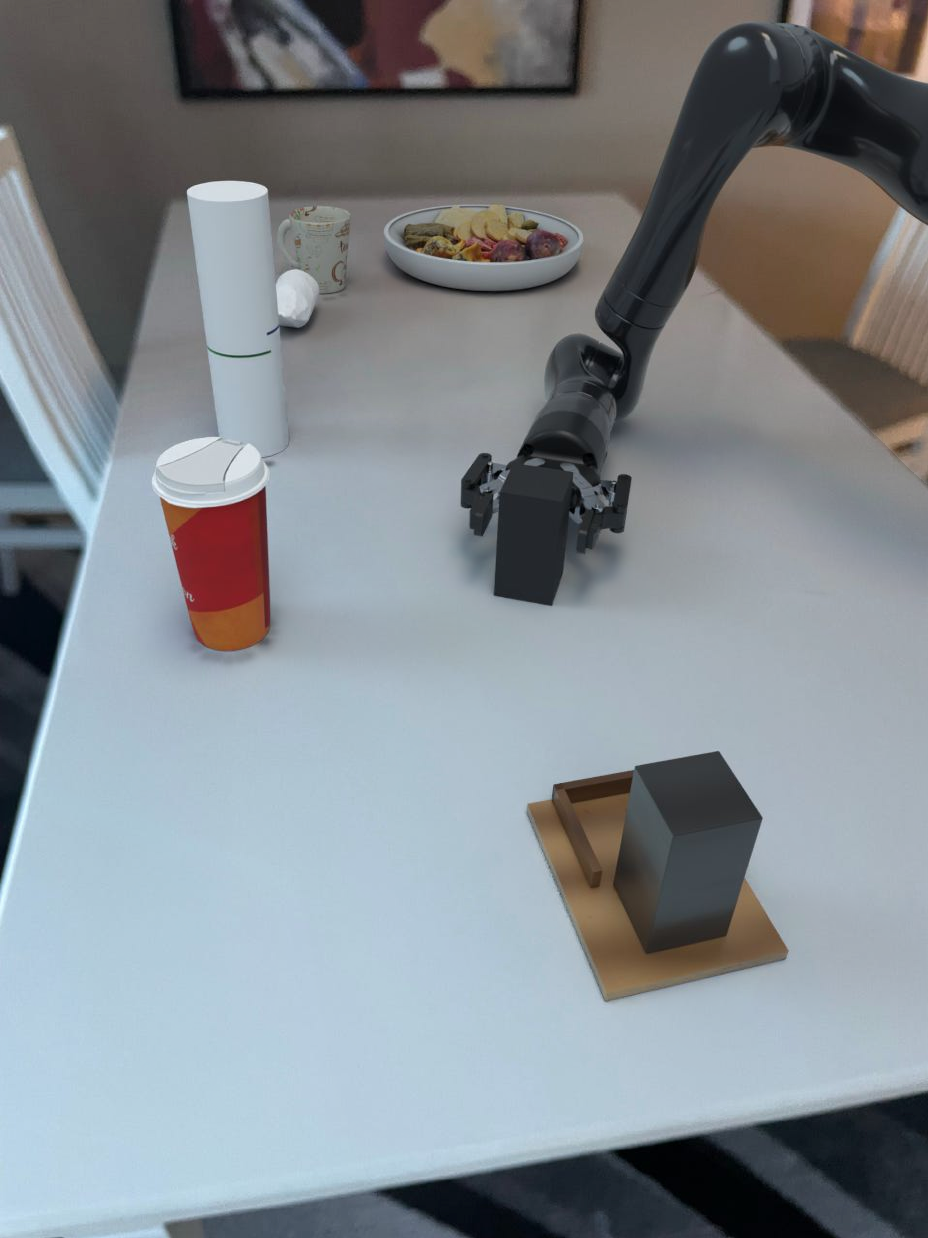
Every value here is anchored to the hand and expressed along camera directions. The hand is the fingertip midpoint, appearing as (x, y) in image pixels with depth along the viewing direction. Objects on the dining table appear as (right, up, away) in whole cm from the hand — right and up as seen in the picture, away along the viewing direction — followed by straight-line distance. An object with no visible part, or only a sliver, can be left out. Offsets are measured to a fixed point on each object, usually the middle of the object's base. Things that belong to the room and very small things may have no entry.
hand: (529, 535), depth 81 cm
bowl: (-3, +47, +73) cm, 87 cm away
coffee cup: (-24, -8, -1) cm, 25 cm away
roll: (-28, +32, +51) cm, 66 cm away
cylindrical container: (-27, +12, +24) cm, 38 cm away
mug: (-27, +41, +64) cm, 81 cm away
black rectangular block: (0, -4, +5) cm, 6 cm away
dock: (+6, -23, -20) cm, 31 cm away
